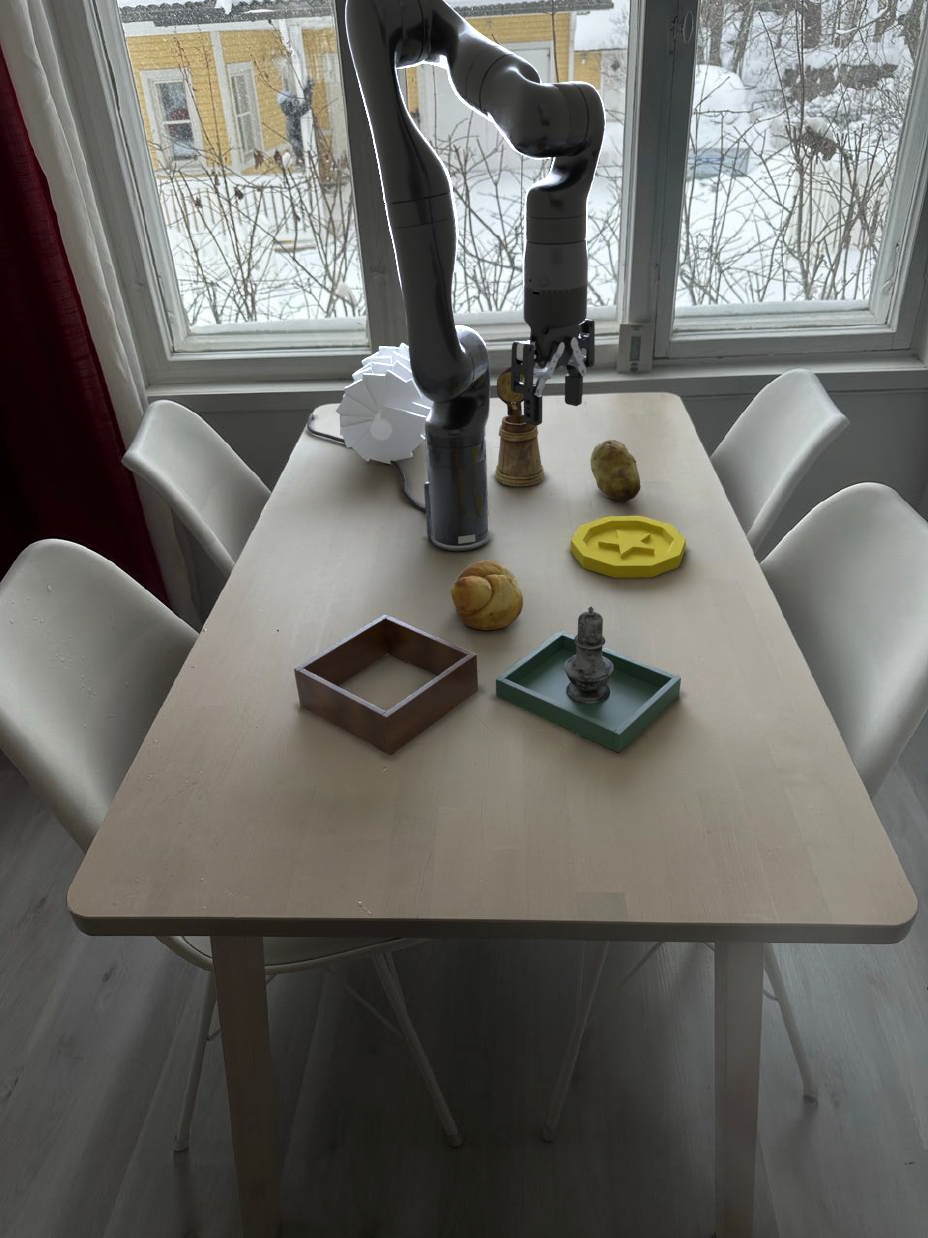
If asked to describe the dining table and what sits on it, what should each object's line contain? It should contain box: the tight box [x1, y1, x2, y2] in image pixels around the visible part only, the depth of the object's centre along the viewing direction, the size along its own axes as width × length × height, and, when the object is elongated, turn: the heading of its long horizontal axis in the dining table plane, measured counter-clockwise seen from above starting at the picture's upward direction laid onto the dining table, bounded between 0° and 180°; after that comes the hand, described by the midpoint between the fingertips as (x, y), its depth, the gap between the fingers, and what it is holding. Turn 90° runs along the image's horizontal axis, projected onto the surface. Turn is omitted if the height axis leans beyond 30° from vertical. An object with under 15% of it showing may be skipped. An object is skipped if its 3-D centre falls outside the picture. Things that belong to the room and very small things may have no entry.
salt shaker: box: [564, 605, 614, 704], centre depth 109 cm, size 6×6×12 cm
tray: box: [495, 630, 682, 753], centre depth 112 cm, size 18×14×3 cm
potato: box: [589, 439, 642, 502], centre depth 161 cm, size 8×13×8 cm, turn 175°
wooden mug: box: [494, 366, 545, 487], centre depth 167 cm, size 9×14×18 cm, turn 6°
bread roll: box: [450, 559, 524, 631], centre depth 128 cm, size 13×10×8 cm
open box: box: [293, 614, 479, 757], centre depth 112 cm, size 16×16×6 cm
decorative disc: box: [570, 515, 687, 579], centre depth 143 cm, size 17×18×2 cm
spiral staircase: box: [335, 342, 433, 465], centre depth 182 cm, size 18×18×25 cm
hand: (553, 414), depth 116 cm, fingers open, 8 cm apart
